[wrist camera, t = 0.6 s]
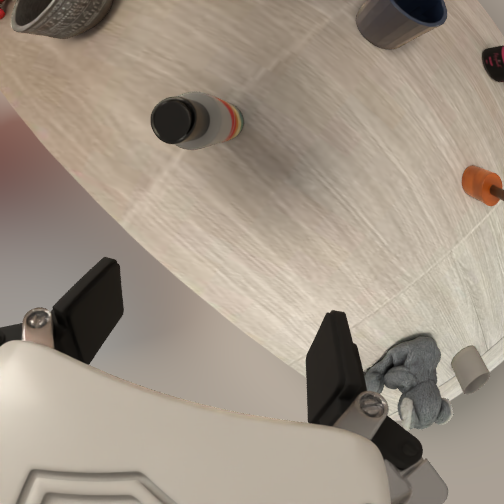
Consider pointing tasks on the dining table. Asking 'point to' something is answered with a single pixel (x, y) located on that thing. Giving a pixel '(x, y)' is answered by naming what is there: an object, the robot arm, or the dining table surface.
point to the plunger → (482, 185)
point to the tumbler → (399, 20)
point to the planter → (58, 16)
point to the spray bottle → (196, 120)
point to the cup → (470, 369)
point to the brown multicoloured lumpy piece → (1, 11)
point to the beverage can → (494, 62)
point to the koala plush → (412, 382)
